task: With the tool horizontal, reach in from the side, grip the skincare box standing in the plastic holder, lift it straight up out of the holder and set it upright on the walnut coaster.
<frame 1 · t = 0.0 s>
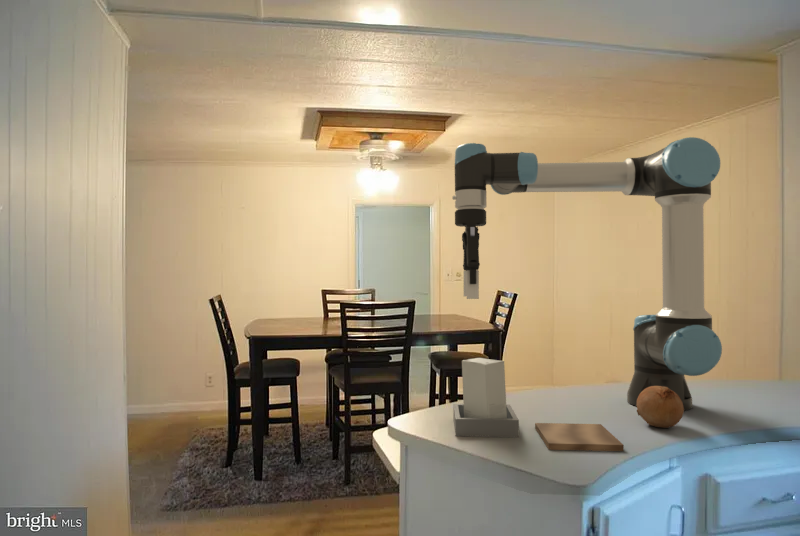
hand: (470, 297, 127), 28 cm above the countertop, tool pointing down, fingers open, 13 cm apart
coaster: (576, 439, 108), on the countertop
skincare box: (484, 428, 116), resting in holder
onion: (659, 426, 118), on the countertop
holder: (484, 427, 116), on the countertop
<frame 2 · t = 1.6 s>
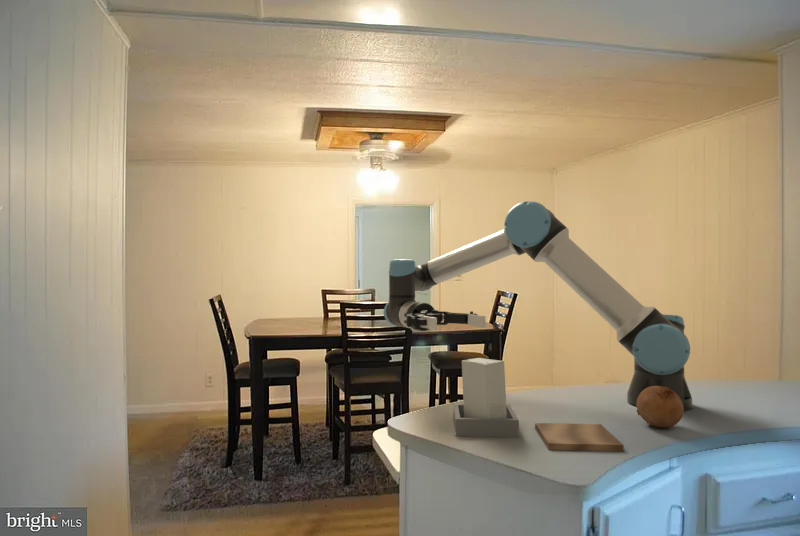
hand: (460, 322, 125), 22 cm above the countertop, tool horizontal, fingers open, 13 cm apart
nothing on the countertop moved.
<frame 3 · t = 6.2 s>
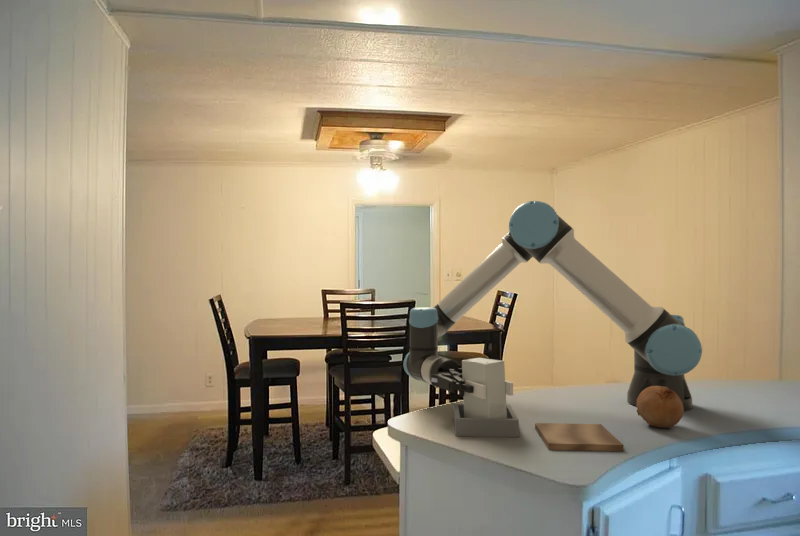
hand: (498, 390, 112), 9 cm above the countertop, tool horizontal, fingers closed on skincare box, 6 cm apart
skincare box: (484, 428, 116), resting in holder, touching gripper
everything else where it was.
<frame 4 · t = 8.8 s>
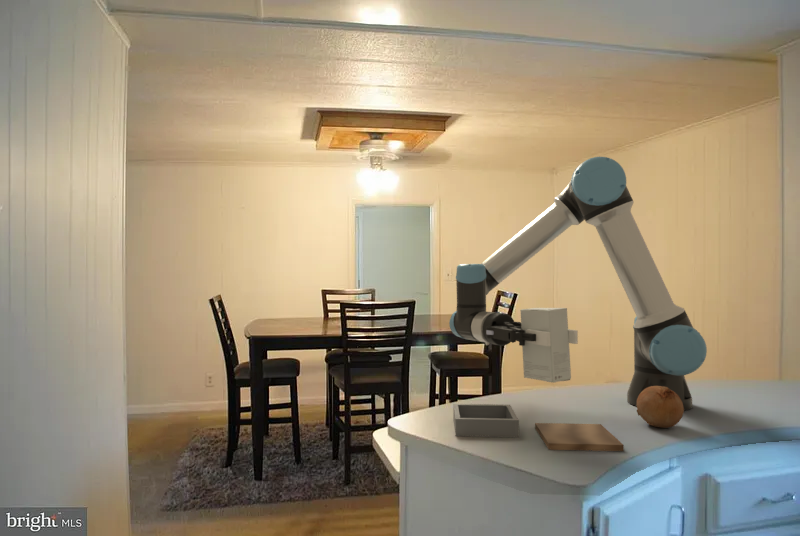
hand: (562, 338, 106), 21 cm above the countertop, tool horizontal, fingers closed on skincare box, 6 cm apart
skincare box: (545, 380, 110), point 12 cm above the countertop, touching gripper
everything else where it was.
when the fingers open (11 cm above the countertop, at t = 11.3 s): skincare box drops 1 cm, resting on coaster.
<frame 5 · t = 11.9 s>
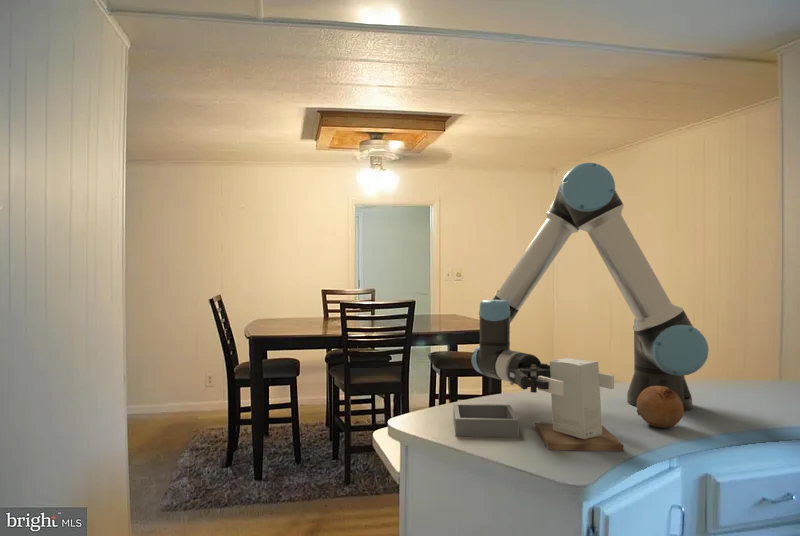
hand: (588, 385, 105), 12 cm above the countertop, tool horizontal, fingers open, 13 cm apart
skincare box: (575, 434, 108), point 1 cm above the countertop, touching coaster
everything else where it was.
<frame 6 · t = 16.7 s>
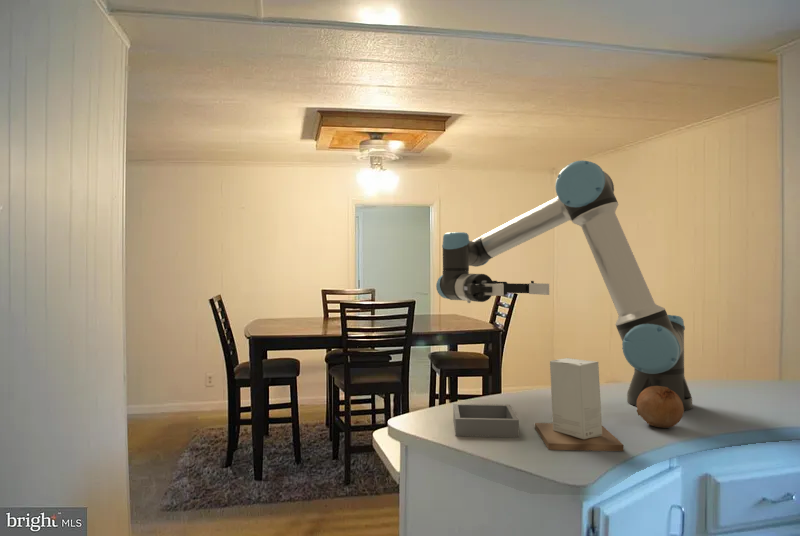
hand: (525, 289, 125), 30 cm above the countertop, tool horizontal, fingers open, 13 cm apart
nothing on the countertop moved.
at the end: skincare box inside the target area on the coaster (0.1 cm from its centre), point 1.0 cm above the coaster's base; skincare box tilted 0°; the gripper is holding nothing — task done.
